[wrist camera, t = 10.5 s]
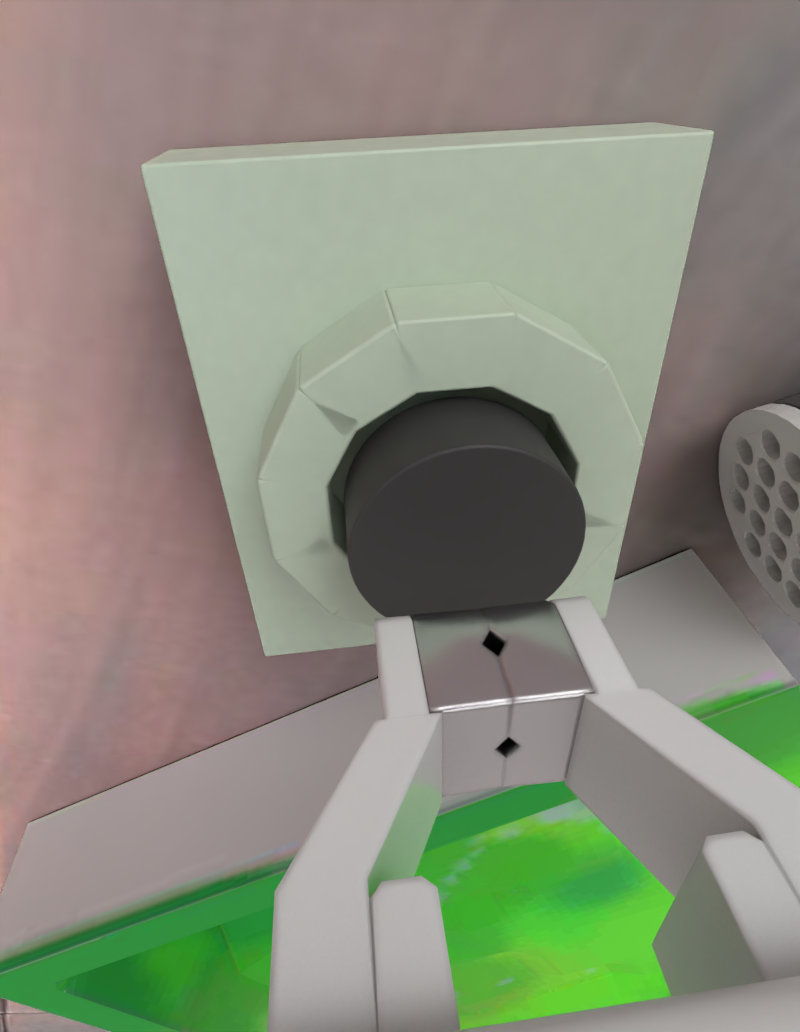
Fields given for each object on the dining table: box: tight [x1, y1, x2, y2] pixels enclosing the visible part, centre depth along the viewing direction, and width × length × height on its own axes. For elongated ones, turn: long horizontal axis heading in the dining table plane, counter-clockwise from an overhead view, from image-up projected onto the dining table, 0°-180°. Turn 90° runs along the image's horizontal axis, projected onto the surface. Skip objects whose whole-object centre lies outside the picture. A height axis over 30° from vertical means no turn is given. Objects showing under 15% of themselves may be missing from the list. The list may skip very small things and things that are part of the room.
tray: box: [0, 548, 800, 1032], centre depth 25 cm, size 25×25×5 cm
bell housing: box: [141, 122, 714, 656], centre depth 13 cm, size 11×9×4 cm
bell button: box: [344, 396, 586, 617], centre depth 11 cm, size 4×4×2 cm
